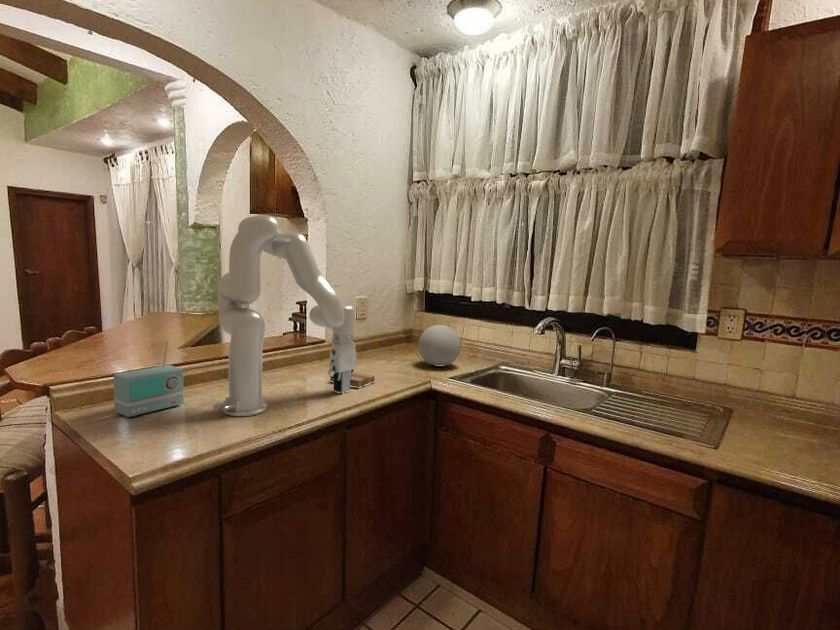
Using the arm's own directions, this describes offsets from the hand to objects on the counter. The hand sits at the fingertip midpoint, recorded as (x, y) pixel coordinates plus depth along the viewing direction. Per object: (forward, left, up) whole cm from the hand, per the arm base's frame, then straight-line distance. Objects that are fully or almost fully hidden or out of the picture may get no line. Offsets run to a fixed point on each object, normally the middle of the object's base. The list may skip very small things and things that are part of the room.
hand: (341, 388), depth 154 cm
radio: (-50, +31, -2) cm, 59 cm away
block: (0, 0, -1) cm, 1 cm away
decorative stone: (+61, -7, -1) cm, 61 cm away
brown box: (+12, +5, -1) cm, 13 cm away
